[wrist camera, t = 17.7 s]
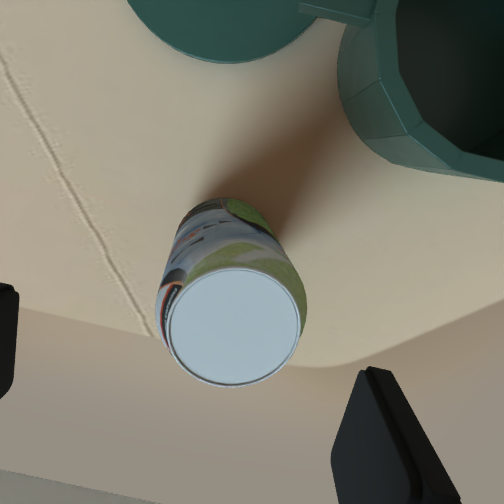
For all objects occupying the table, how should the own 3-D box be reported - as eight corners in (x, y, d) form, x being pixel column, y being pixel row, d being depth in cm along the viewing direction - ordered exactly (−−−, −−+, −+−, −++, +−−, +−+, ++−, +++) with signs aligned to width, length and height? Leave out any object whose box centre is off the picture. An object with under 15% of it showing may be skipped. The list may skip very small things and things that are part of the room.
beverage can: (185, 188, 25) (111, 223, 13) (301, 207, 25) (330, 259, 13) (175, 281, 26) (100, 387, 15) (283, 299, 26) (295, 419, 15)
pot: (542, 199, 24) (685, 226, 16) (270, 134, 23) (270, 126, 15) (632, -13, 21) (870, -119, 13) (322, -91, 21) (357, -251, 12)
